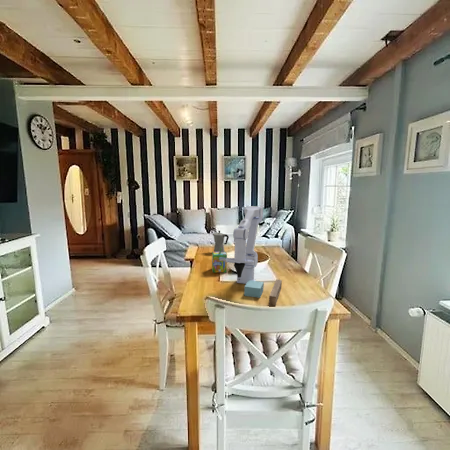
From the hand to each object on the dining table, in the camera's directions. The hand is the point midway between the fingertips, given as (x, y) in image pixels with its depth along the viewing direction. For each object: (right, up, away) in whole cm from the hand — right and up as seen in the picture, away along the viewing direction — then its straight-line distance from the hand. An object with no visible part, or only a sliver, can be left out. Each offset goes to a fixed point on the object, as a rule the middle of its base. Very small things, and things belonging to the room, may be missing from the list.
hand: (239, 276), depth 144 cm
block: (+8, -8, -1) cm, 11 cm away
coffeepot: (-11, +4, +83) cm, 84 cm away
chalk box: (-11, -3, +35) cm, 37 cm away
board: (+18, -9, -5) cm, 20 cm away
